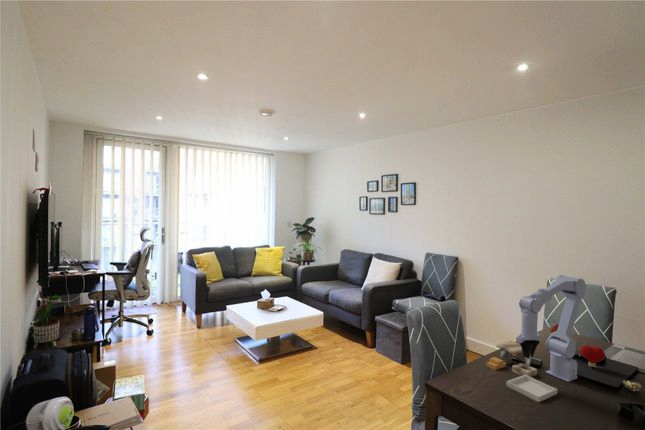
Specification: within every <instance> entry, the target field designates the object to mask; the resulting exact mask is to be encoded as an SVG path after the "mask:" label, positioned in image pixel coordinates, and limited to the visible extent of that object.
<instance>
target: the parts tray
mask: <svg viewBox="0 0 645 430" xmlns="http://www.w3.org/2000/svg"><path fill="white" fill-rule="evenodd" d="M505 385H506V387H507V388H509V389H511V390H513V391H516V392H517V393H519V394H520V395H523V396H526V397H528V398H529V399H531V400H534V401H535V402H538V403H540V402H542V401H544V400H548V399H549V398H552V397H554V396H556V395H558V390H559V389H558V388H556V387H554V386H551V385H549V384H547V383H544V382H543V381H540V380H538V379H536V378H534V377H529V376H527V375H523V376H521V375H519V376H518V377H515V378H512V379H508V380H507V381H506V383H505Z"/></svg>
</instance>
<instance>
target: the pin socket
mask: <svg viewBox="0 0 645 430" xmlns="http://www.w3.org/2000/svg"><path fill="white" fill-rule="evenodd" d="M511 372H513V373H515V374H518V375H519V376H523V375H527V376H529V377H531V378H533V377H535V376H537V375H538V369H537V368H535V367H533V366H531V365H530V366H527V365H525V363H524V362H519V363H518V364H514V365H512V366H511Z"/></svg>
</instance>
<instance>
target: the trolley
mask: <svg viewBox="0 0 645 430" xmlns="http://www.w3.org/2000/svg"><path fill="white" fill-rule="evenodd" d="M496 348H498V349H499V350H500V354H499V359H501V360H503V361H504V362H505V363H506V365H510V364H511V362H512V361H513V357H512V355H513V356H516V357H518V358H521V359H522V360H525V357H524V356H523V352H522V348H521V345H520V343H518V342H516V341H512V340H510V341H507V342H504V343H499V344H496Z"/></svg>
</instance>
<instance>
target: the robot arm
mask: <svg viewBox="0 0 645 430" xmlns="http://www.w3.org/2000/svg"><path fill="white" fill-rule="evenodd" d="M587 288H588V287H587V284H586V281H585V280H584V278H577V277H572V276H568V275H564V274H560V275H558V276H556V277H555V280H554V282H553V283H551V284H550V285H549V286H547V287H546V288H538V289H537V290H536V291H535V292H533V293H531V294H530V295H525V296H522V297H521V298H520V300H519V302H518V305H519V307H520V312H521V331H520V332H521V333H520V334H519V335H518V336H517V337H516V339H515V340H516V341H515V342H516V343H518V344H520V345H521V348H522V352H523V356H524V357H526V358H529V357H530V352H531V358H533V357H534V355H535V352H536V349H537V347H538V345H539V344H540V340H541V339H542V333H540V332H538V319H539V312H541V309H542V308H543V307H544V305H545V304H547V303H548V302H549V301H551V300H552V296H554V295H556V294H559V293H560V292H561V293H562V295H564V296H565V302H564V305H563V309H562V313H561V316H560V319H559V323H558V324H559V326H558V329H557V331H556V332H553V333H550V332H549V336H548V338H547V339H546V341H545V345H546V346H545V347H546V349H547V350H548V352H549V354H550V355H549V357H550V359H549V361H550V362H549V369H548V370H545V373H546V374H548V375H550V376H553V377H555V378H558V379H560V380H563V381H565V382H568V383H569V382H572V381H574V380H576V379H578V362H577V360H576V359H574V357H575V355H576V350H577V349H576V345H577V342H576V340H575V339H574V338H573V337H572V333H573V329H574V325H575V322H576V320H577V316H578V313H579V309H580V304H581V302H582V300H583V299H584V296H585V294H586V290H587Z"/></svg>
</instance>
